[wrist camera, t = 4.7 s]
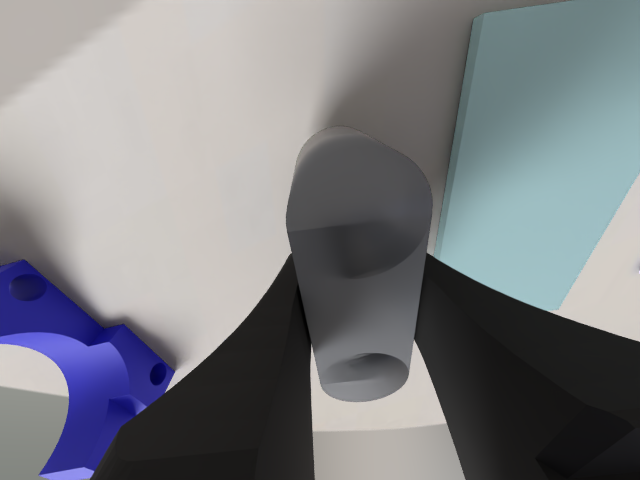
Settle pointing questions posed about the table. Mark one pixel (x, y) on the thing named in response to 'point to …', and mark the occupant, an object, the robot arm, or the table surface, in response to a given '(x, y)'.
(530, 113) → the rubber mat
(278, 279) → the robot arm
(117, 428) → the cable clip
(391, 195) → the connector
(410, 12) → the table surface
